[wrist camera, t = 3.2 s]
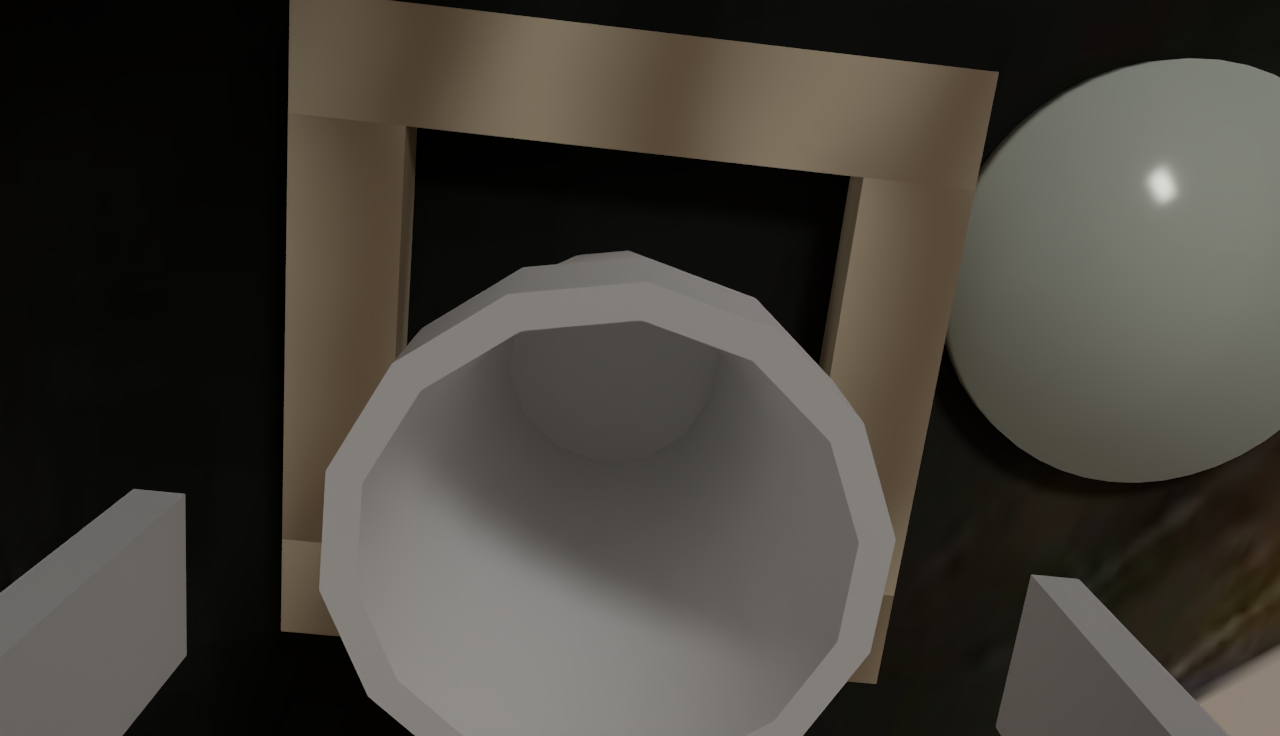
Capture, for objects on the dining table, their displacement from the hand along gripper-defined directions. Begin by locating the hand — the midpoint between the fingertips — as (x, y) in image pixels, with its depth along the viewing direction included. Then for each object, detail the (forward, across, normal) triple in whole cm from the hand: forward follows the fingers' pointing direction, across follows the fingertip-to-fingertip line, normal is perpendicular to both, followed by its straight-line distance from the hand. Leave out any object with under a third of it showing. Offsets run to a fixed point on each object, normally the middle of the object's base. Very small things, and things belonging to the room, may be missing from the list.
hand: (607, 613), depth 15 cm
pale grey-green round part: (+14, +15, +4) cm, 21 cm away
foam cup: (+14, 0, 0) cm, 14 cm away
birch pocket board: (+14, 0, 0) cm, 14 cm away
